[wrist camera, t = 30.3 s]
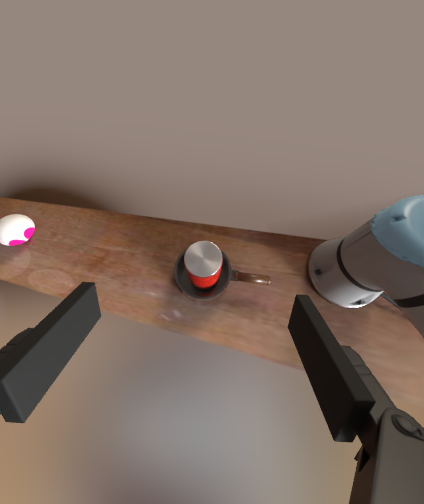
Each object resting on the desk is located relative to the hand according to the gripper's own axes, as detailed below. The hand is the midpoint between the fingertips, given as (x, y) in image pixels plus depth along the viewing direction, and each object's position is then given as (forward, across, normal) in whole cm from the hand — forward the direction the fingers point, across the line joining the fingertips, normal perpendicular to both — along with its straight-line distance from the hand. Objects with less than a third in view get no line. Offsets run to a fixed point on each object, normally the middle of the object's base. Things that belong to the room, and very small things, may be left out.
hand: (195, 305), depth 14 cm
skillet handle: (+27, +9, -14) cm, 32 cm away
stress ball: (+34, -42, -11) cm, 55 cm away
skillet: (+29, -1, -15) cm, 33 cm away
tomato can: (+29, 0, -15) cm, 33 cm away
